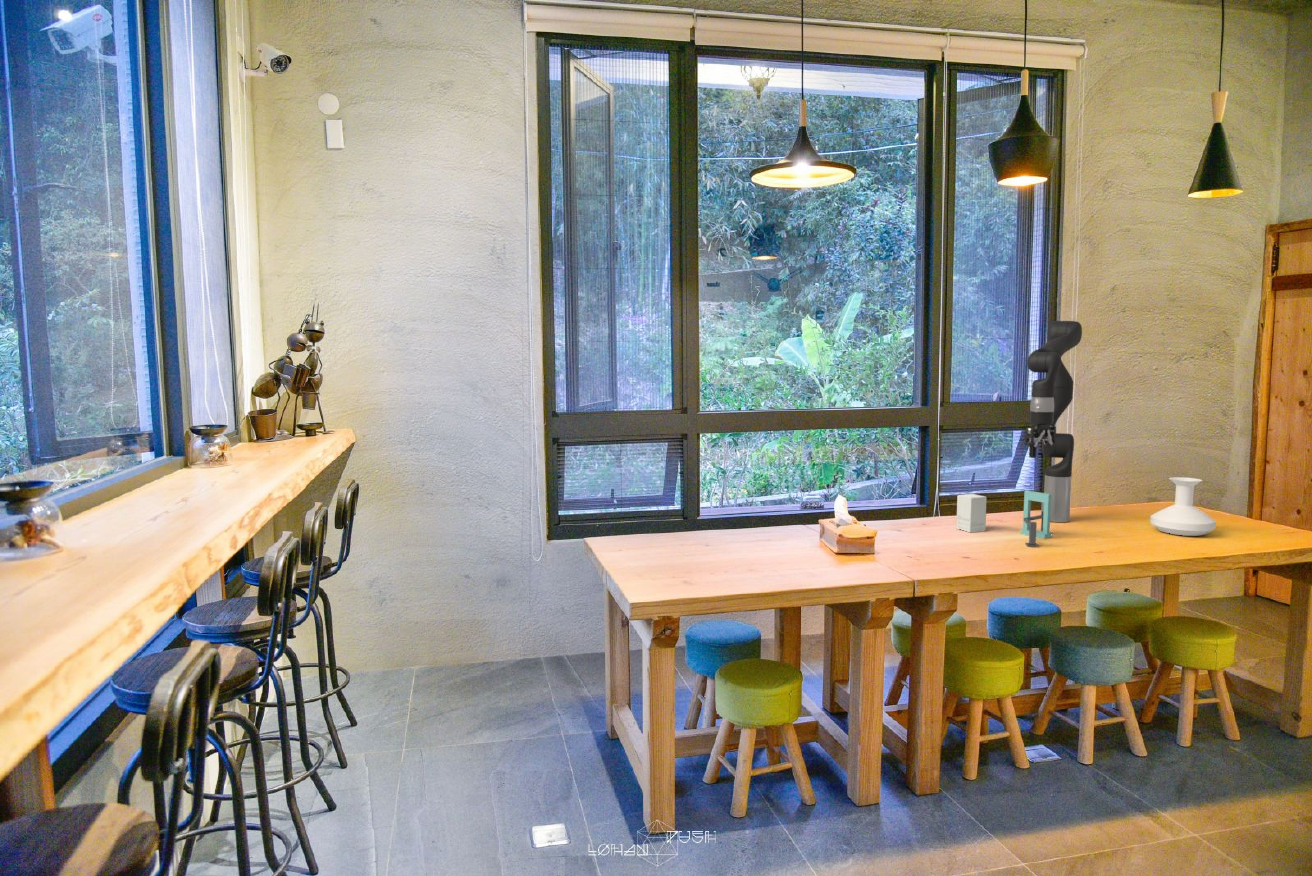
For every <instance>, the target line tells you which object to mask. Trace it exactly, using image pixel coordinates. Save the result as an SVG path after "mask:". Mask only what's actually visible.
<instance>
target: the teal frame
mask: <svg viewBox="0 0 1312 876" xmlns="http://www.w3.org/2000/svg"><path fill="white" fill-rule="evenodd" d="M1023 496H1024V497H1023V499H1024V500H1023V518H1022V519H1023V520H1022V529H1020V535H1022V534H1025V535H1024V536H1027V535H1028V536H1027V537H1029V527H1030V526H1029V525H1028V524H1026V523H1025V522H1024V518H1027V517H1031V509H1032V507H1031V506H1032V501H1033V502H1039V503H1042V502H1043V503H1044V513H1043V531H1041V530H1037V529H1036V539H1037V538H1038V539H1042V538H1047V539H1052V535H1053V532H1052V533H1050V532H1051V531H1050V530H1051V521H1050V513H1051V494H1047V493H1044V492H1041V491H1039V492H1038V491H1032V490H1024V495H1023ZM1051 534H1052V535H1051Z"/></svg>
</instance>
